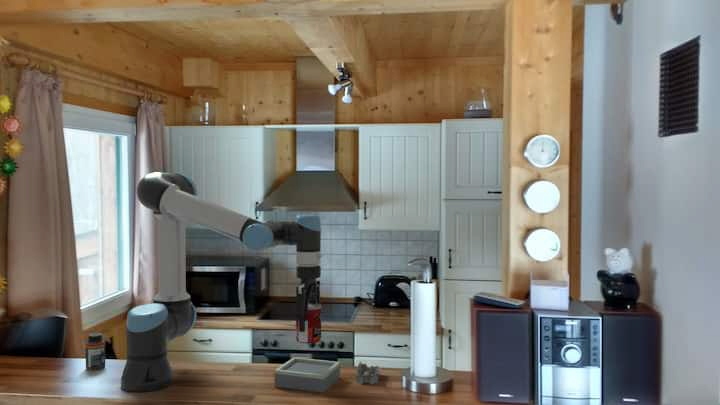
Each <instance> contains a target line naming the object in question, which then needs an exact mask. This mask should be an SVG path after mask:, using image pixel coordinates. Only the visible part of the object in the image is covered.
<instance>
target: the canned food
mask: <svg viewBox="0 0 720 405" xmlns="http://www.w3.org/2000/svg"><path fill="white" fill-rule="evenodd" d="M306 320H307V321H308V342H307V343H306V342H299V321H296V320H295V340H296V342H297V343H300V344H307V345H309V344H317V343H319V342H321V339H322V304H321V305H320V304H317V303H316V304H311V303H309V305H308V312H307V319H306Z"/></svg>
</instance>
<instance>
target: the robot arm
mask: <svg viewBox="0 0 720 405" xmlns="http://www.w3.org/2000/svg"><path fill="white" fill-rule="evenodd" d="M136 195H137V199H138V201H139V202H140V204H141V205H142V206H144V207H145V208H147V209H148V210H152V211H153V212H152V213H153V216H154V217H155V218H156V219H157V220H158V222H157V225H158V228H157V229H158V230H157V233H158V234H157V235H158V246H157V247H158V248H157V249H158V250H157V251H158V252H157V256H158V259H157V260H158V261H157V272H158V273H157V274H158V275H157V278H158V279H157V282H158V283H157V284H158V285H157V287H158V288H157V289H158V290H157V293H156V295H155V296H153V298H152V299H153V303H145V304H141V305H137V306H135V307H133V308H131V309H130V310H129V311H128V313H127V317H126V322H125V326H126V363H125V365H124V368H123V371H122V374H121V377H120V388H121V389H122V390H123V391H124V390H125V391H128V392H134V393H135V392H137V393H138V392H139V393H140V392H141V393H143V392H151V391H157V390H160V389H161V390H162V389H164V388H167V387H169V386H170V385H172V384H173V383H174V372H173V370H172V367H171V364H170V360H169V357H168V342H171V341H172V340H174V339H175V340H176V338H180V337H182V336H184V335H186V334H187V333H188V332H190V331H191V330H192V329H193V327H194V326H195V324H196V321H197V316H198V315H197V310H196V306H195V305H193V302H192V301H191V295H190V294H189V293H188V292H187V289H186V286H187V285H186V284H187V282H186V277H187V276H186V273H187V272H186V271H187V270H186V268H187V267H186V266H187V263H186V262H187V261H186V257H187V256H186V255H187V254H186V253H187V252H186V251H187V249H186V247H187V246H186V245H187V240H186V239H187V228H186V227H187V226H186V225H187V224H186V223H187V222H186V221H188V222H191V223H193V224H196V225H198V226H200V227H203V228H206V229H209V230H211V231H213V232H216V233H217V234H221V235H224V236H227V237H229V238H231V239H233V240H236V241H239V242H240V243H243V244H244V245H245V246H246V247H247V248H248V249H249V250H252V251H264V250H266V249H271V248H273V247H277V246H296V249H295V250H296V252H295V256H296V258H295V260H296V261H295V264H296V265H297V266H296V270H295V273H296V274H295V276H296V278H297V279H300V284H299V286H296V287H295V292H296V296H295V298H296V299H295V314H294V319H295V322H296V321H299V342H298V343H300V342H306V343H307V342H308V321H307V320H306V319H307V312H308V305H309V303H311V304H316V303H317V304H320V305H321V306H322V303H321V280H317V279H319V278H321V274H322V272H321V270H322V269H321V268H322V266H321V265H320V264H321V261H322V260H321V258H322V257H323V255H322V254H321V247H322V246H321V243H322V242H321V241H322V240H321V239H322V236H321V235H322V232H321V231H322V228H321V226H322V225H321V218H320V216H319V215H317V214H298V215H297V216H296V217H295V220H292V221H288V220H287V221H286V220H262V221H260V220H257V219H254V218H251V217H250V216H247V215H244V214H242V213H239V212H237V211H234V210H233V209H229V208H227V207H225V206H221V205H218V204H217V203H215V202H214V203H213V202H211V201H210V200H209V201H208V200H207V199H203V198H202V197H198V191H197V186H196V184H195V183H194V181H193V180H192V179H191V178H190V177H189V176H187V175H185V174H182V173H176V172H151V173H148V174H146V175H144V176H143V177H142V178H141V179H140V180H139V182H138V184H137V187H136ZM306 343H305V344H306Z"/></svg>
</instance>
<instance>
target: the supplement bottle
mask: <svg viewBox="0 0 720 405" xmlns="http://www.w3.org/2000/svg"><path fill="white" fill-rule="evenodd" d="M105 367H106V341H105V340H104V339H103V333H102V332H94V333H89V334H88V340H87V341H86V342H85V369H86V370H88V371H99V370H102V369H104V368H105Z"/></svg>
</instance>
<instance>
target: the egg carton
mask: <svg viewBox="0 0 720 405" xmlns="http://www.w3.org/2000/svg"><path fill="white" fill-rule="evenodd" d="M357 365H358V366H357V368H356V371H355V377H356V381H355V382H356V383H358V384H361V385H362V384H363V385H364V384H366V383H367V384H370V385H375V384H379V383H378V382H379V379H380V377H379V376H380V372H381V369H382V366H381V365H379V366H378V365H375V366H373V365H370V367H368V364H367V363H362V361H360V362H359V363H358V364H357Z"/></svg>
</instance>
